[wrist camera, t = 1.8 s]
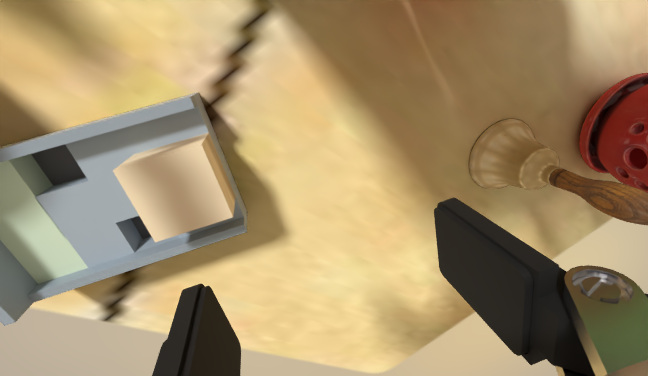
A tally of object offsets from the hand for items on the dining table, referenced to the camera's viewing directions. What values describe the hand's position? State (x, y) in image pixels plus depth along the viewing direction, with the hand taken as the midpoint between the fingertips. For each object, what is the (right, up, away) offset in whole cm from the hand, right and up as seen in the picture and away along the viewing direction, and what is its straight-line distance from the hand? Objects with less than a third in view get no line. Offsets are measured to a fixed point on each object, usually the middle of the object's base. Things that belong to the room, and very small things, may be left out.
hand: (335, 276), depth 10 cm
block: (-12, +4, +15) cm, 19 cm away
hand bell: (+20, +7, +25) cm, 32 cm away
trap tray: (-19, +3, +16) cm, 25 cm away
